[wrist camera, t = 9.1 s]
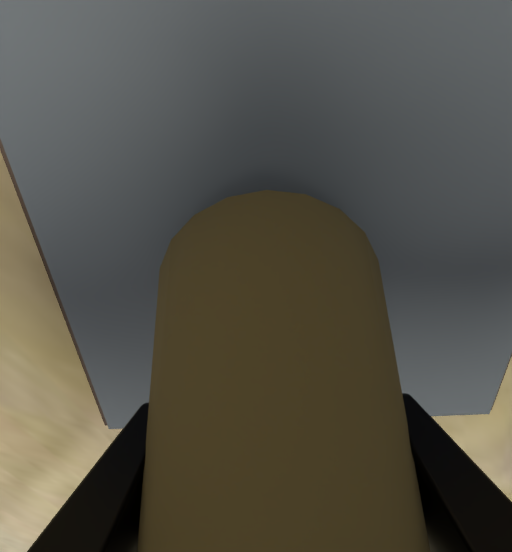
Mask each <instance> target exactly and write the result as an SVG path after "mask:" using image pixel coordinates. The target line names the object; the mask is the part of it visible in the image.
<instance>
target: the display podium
mask: <svg viewBox="0 0 512 552" xmlns="http://www.w3.org/2000/svg"><path fill="white" fill-rule="evenodd" d="M0 150H1V153H2V155H3V158H4V161H5V163H6V166H7V169H8V171H9V174H10V176H11V179H12V182H13V184H14V187H15V190H16V192H17V195H18V197H19V200H20V203H21V205H22V208H23V211H24V213H25V216H26V219H27V221H28V224H29V226H30V229H31V232H32V234H33V237H34V240H35V242H36V245H37V247H38V250H39V253H40V255H41V258H42V261H43V263H44V266H45V269H46V271H47V274H48V276H49V279H50V282H51V284H52V287H53V290H54V292H55V295H56V298H57V300H58V303H59V305H60V308H61V311H62V313H63V316H64V319H65V321H66V324H67V326H68V329H69V332H70V334H71V337H72V340H73V342H74V345H75V348H76V350H77V353H78V355H79V358H80V361H81V363H82V366H83V369H84V371H85V374H86V376H87V379H88V382H89V384H90V387H91V390H92V392H93V395H94V398H95V400H96V403H97V405H98V408H99V411H100V413H101V416H102V419H103V421H104V424H105V425H108V427H109V429H121V428H124V427H125V425H126V424H127V423H128V422H129V420H130V419H131V418H132V417H133V415H134V414H135V413H136V411H137V410H138V409H139V408H140V406H141V405H142V404H144V403H149V396H150V384H151V371H152V359H153V346H154V334H155V321H156V308H157V296H158V283H159V271H160V266H161V264H162V261H163V259H164V256H165V254H166V251H167V249H168V246H169V244H170V241H171V239H172V238H173V237H174V236H175V235H176V234H177V233H178V232H179V231H180V230H181V229H182V227H183V226H184V225H185V224H186V223H187V222H188V221H189V220H190V219H191V218H192V217H193V216H194V215H195V214H197V213H199V212H201V211H202V210H204V209H206V208H208V207H210V206H212V205H214V204H216V203H217V202H219V201H221V200H223V199H225V198H227V197H231V196H236V195H242V194H247V193H252V192H258V191H263V190H272V191H281V192H291V193H300V194H307V195H309V196H311V197H313V198H316V199H318V200H320V201H323V202H325V203H327V204H329V205H332V206H334V207H336V208H339V209H340V210H341V211H343V212H344V213H345V214H346V215H347V216H348V217H349V218H350V219H351V220H352V221H353V222H354V223H356V224H357V225H358V226H359V227H360V228H361V229H362V230H363V231H364V232H365V233H366V235H367V237H368V240H369V242H370V244H371V246H372V248H373V250H374V252H375V254H376V256H377V258H378V261H379V266H380V272H381V277H382V283H383V289H384V294H385V300H386V306H387V311H388V317H389V322H390V328H391V334H392V339H393V345H394V350H395V356H396V362H397V367H398V373H399V378H400V384H401V390H402V393H407V394H409V395H411V396H412V397H413V398H414V399H415V400H416V401H417V402H418V404H419V405H420V406H421V407H422V408H423V409H424V410H425V411H426V412H427V413H428V414H429V415H430V416H448V415H473V414H489V413H490V411H491V410H492V407H493V404H494V402H495V399H496V396H497V394H498V391H499V388H500V385H501V383H502V380H503V377H504V375H505V372H506V369H507V367H508V364H509V361H510V358H511V356H512V0H0Z"/></svg>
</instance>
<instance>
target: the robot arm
mask: <svg viewBox="0 0 512 552" xmlns="http://www.w3.org/2000/svg"><path fill="white" fill-rule="evenodd" d="M402 395H403V401H404V407H405V412H406V418H407V423H408V432H409V440H410V446H411V452H412V456H413V459H414V463H415V468H416V474H417V479H418V485H419V491H420V496H421V502H422V507H423V513H424V519H425V524H426V530H427V536H428V541H429V547H430V552H512V502H511V501H510V500H509V499H508V498H507V497H506V495H505V494H504V493H503V492H502V491H501V490H500V489H499V488H498V487H497V486H496V485H495V484H494V483H493V482H492V481H491V480H490V479H489V477H488V476H487V475H486V474H485V473H484V472H483V471H482V470H481V469H480V468H479V467H478V466H477V465H476V464H475V463H474V462H473V461H472V460H471V458H470V457H469V456H468V455H467V454H466V453H465V452H464V451H463V450H462V449H461V448H460V447H459V446H458V445H457V444H456V443H455V442H454V440H453V439H452V438H451V437H450V436H449V435H448V434H447V433H446V432H445V431H444V430H443V429H442V428H441V427H440V426H439V425H438V424H437V423H436V421H435V420H434V419H433V418H432V417H431V416H430V415H429V414H428V413H427V412H426V411H425V410H424V409H423V408H422V407H421V406H420V405H419V404H418V402H417V401H416V400H415V399H414V398H413V397H412V396H411V395H409V394H407V393H402ZM148 409H149V403H144V404H142V405H141V406H140V408H139V409H138V410H137V411H136V413H135V414H134V415H133V417H132V418H131V419H130V420H129V422H128V423H127V424H126V425H125V427H124V428H123V429H122V431H121V432H120V433H119V434H118V436H117V437H116V438H115V440H114V441H113V442H112V443H111V445H110V446H109V447H108V449H107V450H106V451H105V452H104V454H103V455H102V456H101V458H100V459H99V460H98V461H97V463H96V464H95V465H94V467H93V468H92V469H91V470H90V472H89V473H88V474H87V475H86V477H85V478H84V479H83V481H82V482H81V483H80V484H79V486H78V487H77V488H76V490H75V491H74V492H73V493H72V495H71V496H70V497H69V499H68V500H67V501H66V502H65V504H64V505H63V506H62V508H61V509H60V510H59V511H58V513H57V514H56V515H55V516H54V518H53V519H52V520H51V522H50V523H49V524H48V525H47V527H46V528H45V529H44V531H43V532H42V533H41V534H40V536H39V537H38V538H37V540H36V541H35V542H34V543H33V545H32V546H31V547H30V549H29V550H28V551H27V552H137V547H138V535H139V522H140V509H141V497H142V484H143V472H144V465H145V455H146V434H147V421H148Z"/></svg>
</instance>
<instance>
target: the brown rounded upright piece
mask: <svg viewBox="0 0 512 552" xmlns="http://www.w3.org/2000/svg"><path fill="white" fill-rule="evenodd" d="M137 552H430V547H429V541H428V536H427V530H426V524H425V519H424V513H423V507H422V502H421V496H420V491H419V485H418V479H417V474H416V468H415V463H414V459H413V456H412V452H411V446H410V440H409V432H408V423H407V418H406V412H405V407H404V401H403V395H402V390H401V384H400V378H399V373H398V367H397V362H396V356H395V350H394V345H393V339H392V334H391V328H390V322H389V317H388V311H387V306H386V300H385V294H384V289H383V283H382V277H381V272H380V266H379V261H378V258H377V256H376V254H375V252H374V250H373V248H372V246H371V244H370V242H369V240H368V237H367V235H366V233H365V232H364V231H363V230H362V229H361V228H360V227H359V226H358V225H357V224H356V223H354V222H353V221H352V220H351V219H350V218H349V217H348V216H347V215H346V214H345V213H344V212H343V211H341V210H340V209H339V208H336V207H334V206H332V205H329V204H327V203H325V202H323V201H320V200H318V199H316V198H313V197H311V196H309V195H307V194H300V193H291V192H281V191H272V190H263V191H258V192H252V193H247V194H242V195H236V196H231V197H227V198H225V199H223V200H221V201H219V202H217V203H216V204H214V205H212V206H210V207H208V208H206V209H204V210H202V211H201V212H199V213H197V214H195V215H194V216H193V217H192V218H191V219H190V220H189V221H188V222H187V223H186V224H185V225H184V226H183V227H182V229H181V230H180V231H179V232H178V233H177V234H176V235H175V236H174V237H173V238H172V239H171V241H170V244H169V246H168V249H167V251H166V254H165V256H164V259H163V261H162V264H161V266H160V271H159V283H158V296H157V308H156V321H155V334H154V346H153V359H152V371H151V384H150V396H149V409H148V421H147V434H146V455H145V465H144V472H143V484H142V497H141V509H140V522H139V535H138V547H137Z"/></svg>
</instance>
